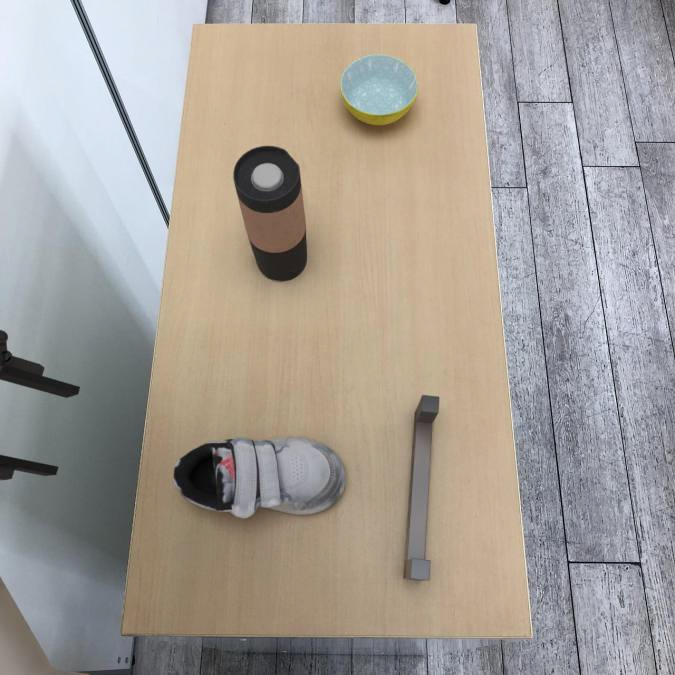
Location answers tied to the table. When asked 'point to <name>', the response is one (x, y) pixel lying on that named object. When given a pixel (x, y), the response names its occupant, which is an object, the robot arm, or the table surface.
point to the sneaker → (261, 476)
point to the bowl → (378, 88)
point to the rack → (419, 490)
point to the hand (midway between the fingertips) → (62, 430)
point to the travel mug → (273, 210)
